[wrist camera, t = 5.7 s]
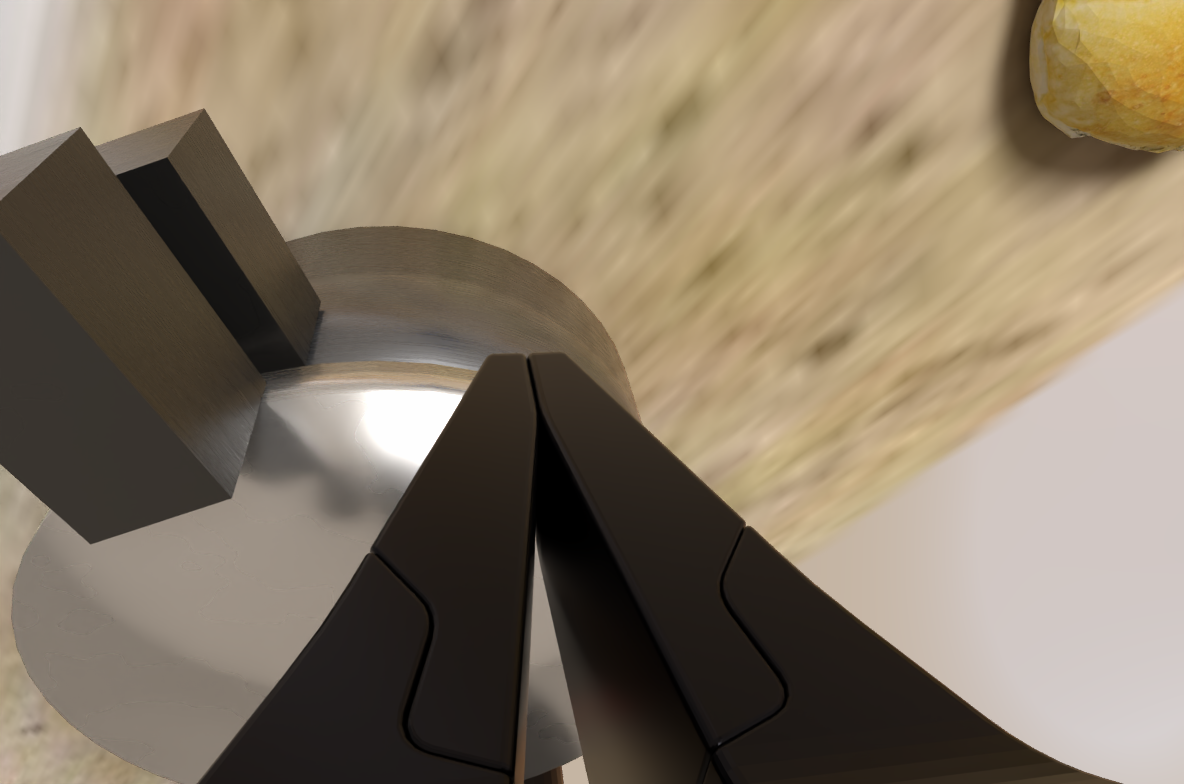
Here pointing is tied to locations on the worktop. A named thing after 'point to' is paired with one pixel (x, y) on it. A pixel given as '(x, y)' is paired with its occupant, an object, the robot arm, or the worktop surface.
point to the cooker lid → (189, 481)
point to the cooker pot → (347, 274)
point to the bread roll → (1111, 70)
